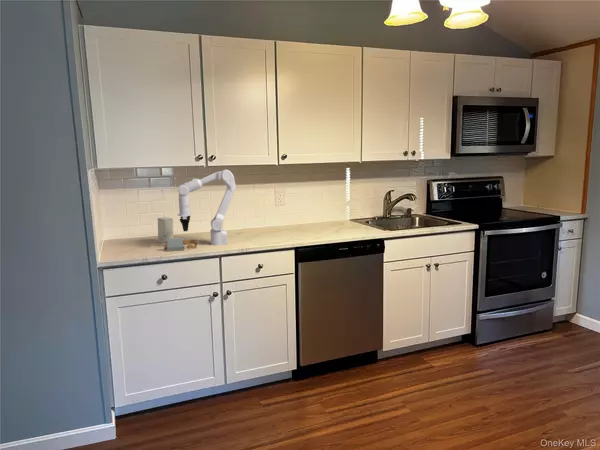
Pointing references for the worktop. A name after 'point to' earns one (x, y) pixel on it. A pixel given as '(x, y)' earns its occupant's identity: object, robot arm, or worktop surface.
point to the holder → (175, 249)
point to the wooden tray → (186, 242)
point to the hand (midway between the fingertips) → (185, 230)
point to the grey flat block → (175, 242)
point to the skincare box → (165, 229)
